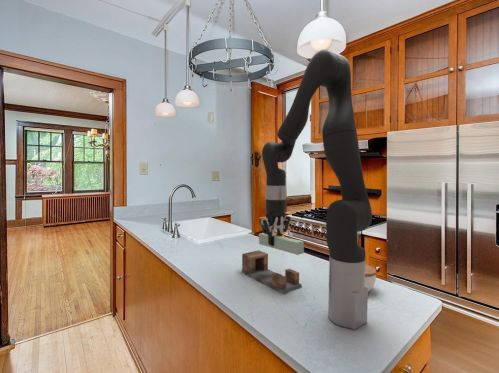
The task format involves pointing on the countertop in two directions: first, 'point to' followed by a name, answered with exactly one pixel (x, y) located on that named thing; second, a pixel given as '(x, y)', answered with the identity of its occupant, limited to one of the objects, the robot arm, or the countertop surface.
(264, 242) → the slat
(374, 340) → the countertop surface
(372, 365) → the countertop surface
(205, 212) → the countertop surface
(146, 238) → the countertop surface
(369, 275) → the lidded jar
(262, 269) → the holder
